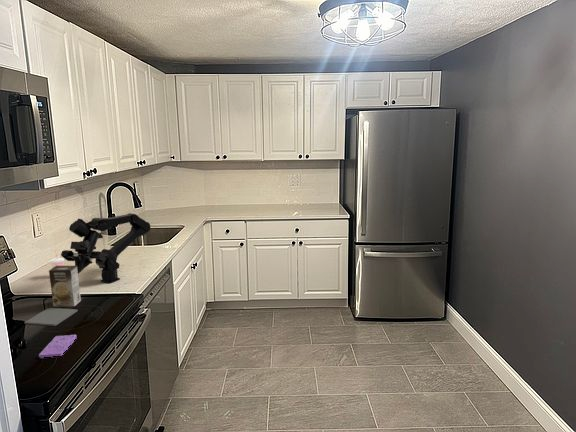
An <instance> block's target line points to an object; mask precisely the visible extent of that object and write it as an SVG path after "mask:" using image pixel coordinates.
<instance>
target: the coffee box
mask: <svg viewBox="0 0 576 432" xmlns="http://www.w3.org/2000/svg"><path fill="white" fill-rule="evenodd" d="M48 273H49V281H50V290H51V297H52V308H56V307H57V308H58V307H76V306H77V305H78V304H79V303H80V302H81V301H82V298H81V290H80V280H79V274H78V270H77V266H75V265H64V266H55V267H53V268H52V267H51V269H48Z"/></svg>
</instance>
